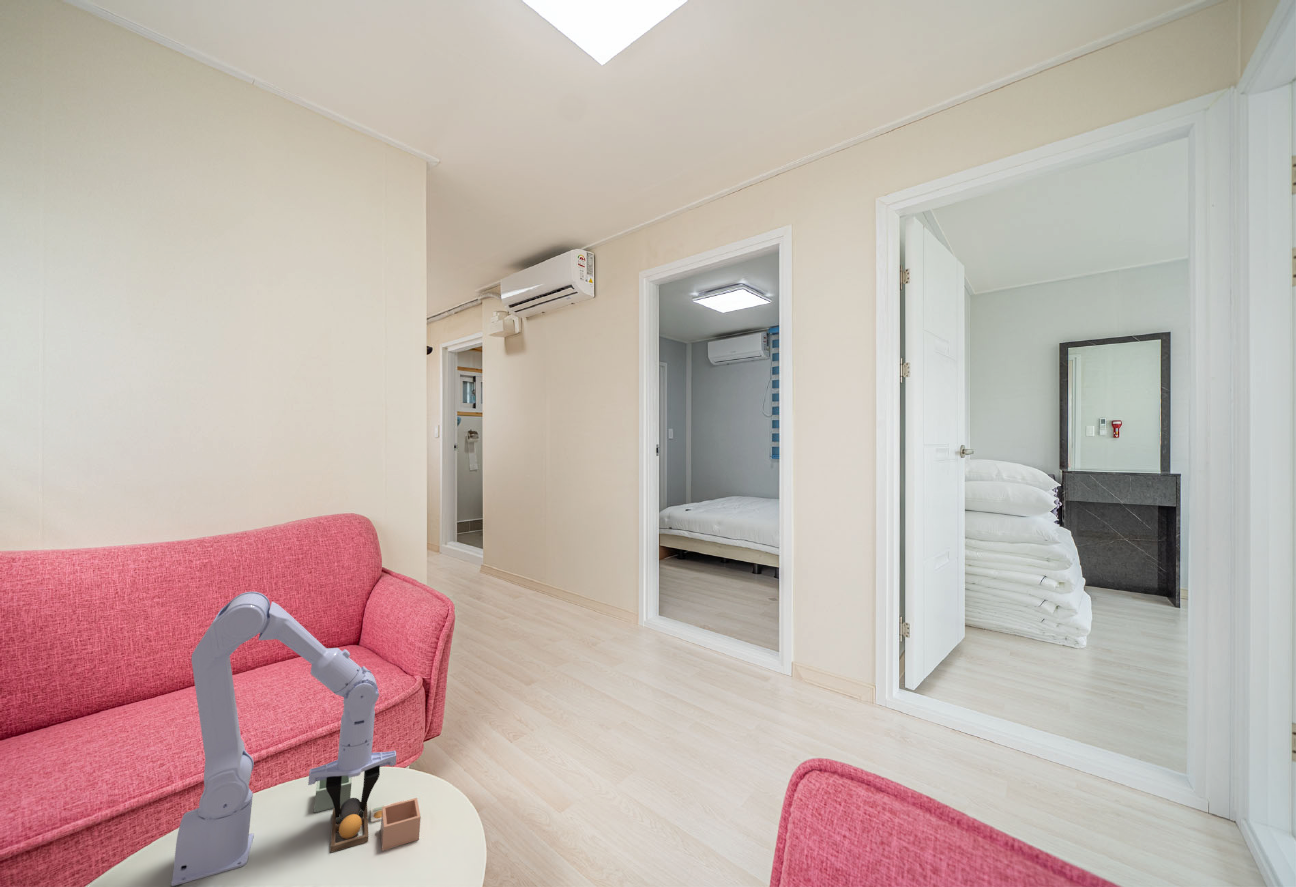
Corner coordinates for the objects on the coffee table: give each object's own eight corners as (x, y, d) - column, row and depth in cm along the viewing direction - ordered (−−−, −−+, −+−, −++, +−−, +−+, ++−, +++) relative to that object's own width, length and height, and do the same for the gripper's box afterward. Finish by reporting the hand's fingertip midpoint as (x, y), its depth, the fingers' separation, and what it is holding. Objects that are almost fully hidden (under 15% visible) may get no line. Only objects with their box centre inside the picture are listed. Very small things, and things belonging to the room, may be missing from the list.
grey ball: (338, 827, 93) (340, 808, 93) (339, 816, 96) (340, 796, 96) (360, 821, 95) (362, 802, 95) (360, 810, 98) (361, 791, 98)
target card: (370, 823, 95) (371, 820, 95) (370, 810, 98) (370, 808, 98) (405, 813, 98) (405, 811, 98) (403, 801, 101) (404, 799, 101)
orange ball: (337, 846, 89) (339, 825, 89) (338, 833, 92) (340, 813, 92) (361, 839, 90) (362, 819, 91) (360, 827, 93) (362, 807, 94)
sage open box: (314, 812, 97) (315, 791, 97) (316, 795, 102) (317, 774, 102) (349, 803, 100) (351, 783, 100) (349, 786, 105) (351, 767, 105)
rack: (330, 852, 87) (330, 846, 87) (332, 814, 96) (332, 809, 96) (368, 841, 90) (368, 836, 90) (366, 805, 99) (367, 800, 99)
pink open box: (382, 850, 88) (384, 827, 88) (380, 829, 93) (382, 807, 93) (418, 839, 91) (420, 816, 91) (415, 819, 96) (417, 797, 96)
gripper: (310, 758, 89) (303, 837, 88) (399, 739, 97) (393, 812, 96) (312, 739, 95) (306, 813, 94) (396, 723, 103) (391, 791, 102)
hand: (350, 811), depth 96 cm, fingers closed on grey ball, 4 cm apart
